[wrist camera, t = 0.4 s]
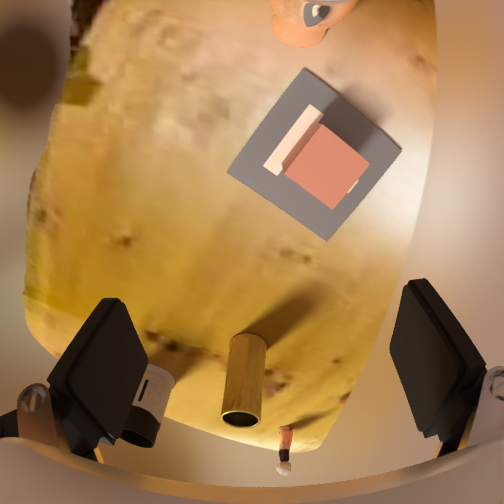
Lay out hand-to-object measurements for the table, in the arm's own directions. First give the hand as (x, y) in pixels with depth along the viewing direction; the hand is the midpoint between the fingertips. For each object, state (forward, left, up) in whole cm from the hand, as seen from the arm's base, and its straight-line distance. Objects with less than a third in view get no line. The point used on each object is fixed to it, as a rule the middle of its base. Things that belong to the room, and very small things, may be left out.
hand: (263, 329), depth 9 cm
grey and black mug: (+44, +3, -26) cm, 51 cm away
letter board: (-4, +4, -26) cm, 27 cm away
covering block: (-4, +4, -26) cm, 26 cm away
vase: (+25, +14, -26) cm, 39 cm away
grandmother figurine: (+45, +38, -26) cm, 64 cm away
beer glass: (-16, -7, -26) cm, 32 cm away
